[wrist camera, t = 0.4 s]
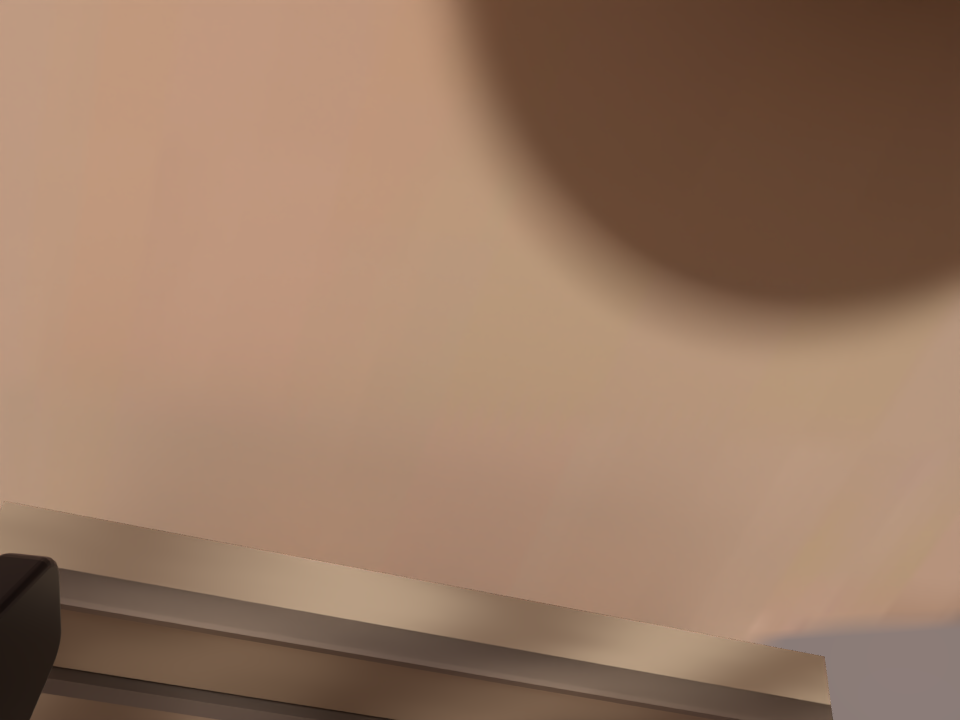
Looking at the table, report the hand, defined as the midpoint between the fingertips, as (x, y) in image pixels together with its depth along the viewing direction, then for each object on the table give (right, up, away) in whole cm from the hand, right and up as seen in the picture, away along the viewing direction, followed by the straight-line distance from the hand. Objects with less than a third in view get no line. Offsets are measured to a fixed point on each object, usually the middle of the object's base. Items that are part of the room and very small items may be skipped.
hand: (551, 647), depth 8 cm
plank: (-2, -4, +12) cm, 12 cm away
